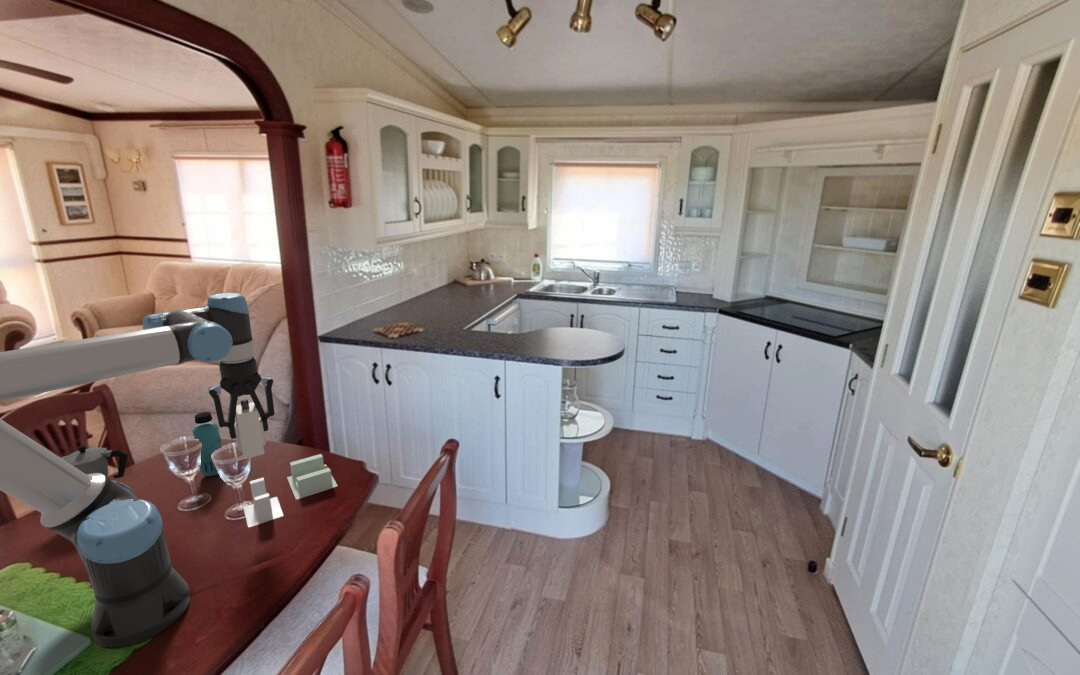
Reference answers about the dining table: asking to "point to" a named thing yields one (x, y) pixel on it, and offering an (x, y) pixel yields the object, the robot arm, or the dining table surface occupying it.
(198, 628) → the dining table surface
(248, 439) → the white tall block
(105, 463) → the coffeepot
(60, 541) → the dining table surface
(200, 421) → the beverage bottle
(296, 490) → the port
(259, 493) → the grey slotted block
